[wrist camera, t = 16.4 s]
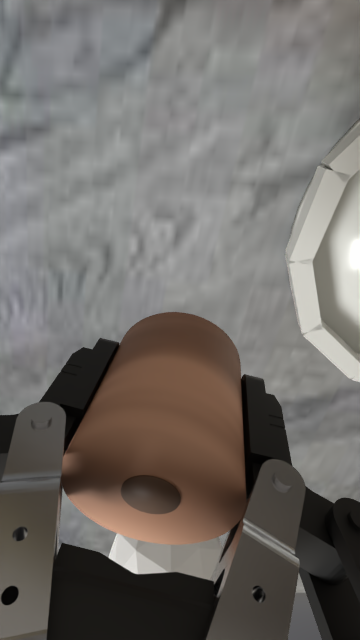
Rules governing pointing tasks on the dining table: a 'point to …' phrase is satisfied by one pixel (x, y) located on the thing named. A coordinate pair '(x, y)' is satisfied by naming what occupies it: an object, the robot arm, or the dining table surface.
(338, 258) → the grooved tray
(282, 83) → the dining table surface
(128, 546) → the geodesic sphere
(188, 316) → the terracotta bead
